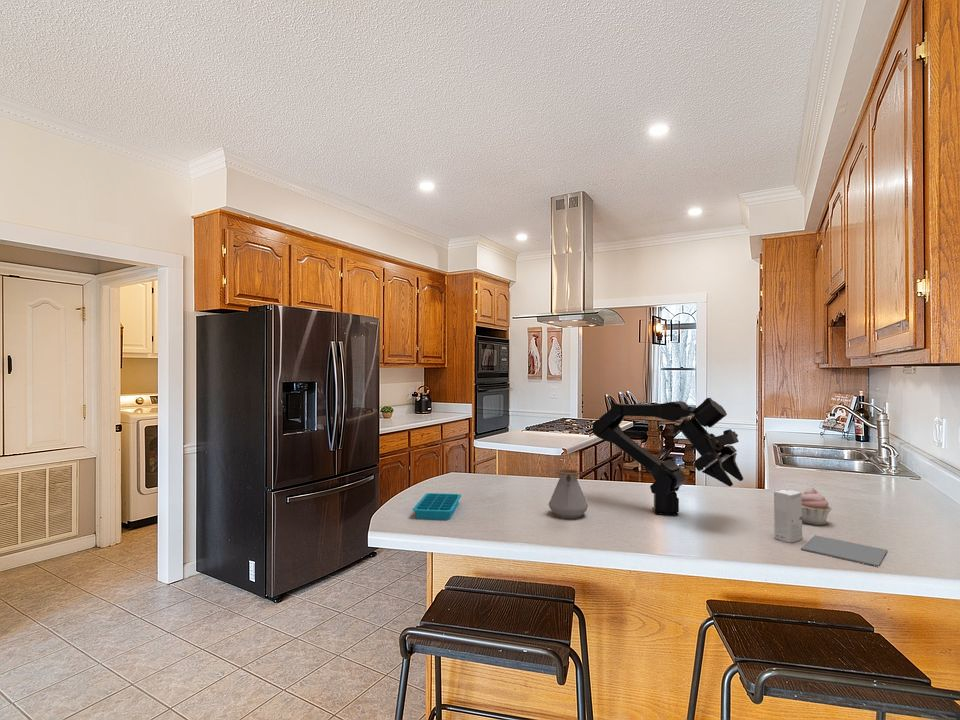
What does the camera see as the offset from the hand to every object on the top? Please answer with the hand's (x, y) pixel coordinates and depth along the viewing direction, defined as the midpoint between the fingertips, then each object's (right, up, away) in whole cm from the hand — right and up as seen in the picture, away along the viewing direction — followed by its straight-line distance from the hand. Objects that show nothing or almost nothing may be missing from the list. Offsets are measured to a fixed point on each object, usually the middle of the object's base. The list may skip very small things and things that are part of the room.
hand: (737, 482), depth 143 cm
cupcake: (+24, -13, +5) cm, 28 cm away
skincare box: (+8, -12, -10) cm, 18 cm away
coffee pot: (-46, -12, +6) cm, 48 cm away
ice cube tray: (-84, -12, +14) cm, 86 cm away
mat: (+17, -12, -18) cm, 27 cm away
